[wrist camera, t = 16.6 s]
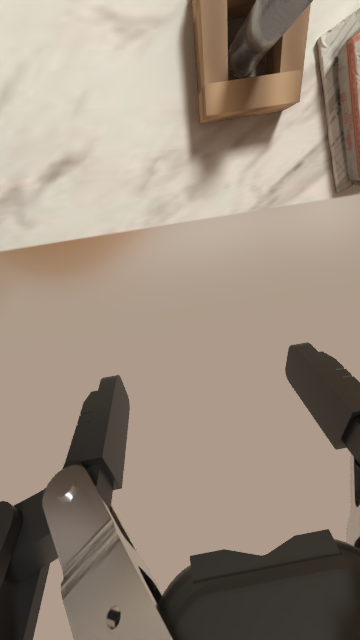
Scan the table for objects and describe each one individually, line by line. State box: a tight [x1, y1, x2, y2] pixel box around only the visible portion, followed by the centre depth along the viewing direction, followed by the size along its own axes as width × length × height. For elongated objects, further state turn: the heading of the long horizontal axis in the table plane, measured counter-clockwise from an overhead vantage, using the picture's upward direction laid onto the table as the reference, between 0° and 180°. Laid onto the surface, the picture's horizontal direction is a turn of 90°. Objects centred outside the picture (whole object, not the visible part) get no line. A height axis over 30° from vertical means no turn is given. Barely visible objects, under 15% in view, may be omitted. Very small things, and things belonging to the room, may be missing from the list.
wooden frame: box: [192, 0, 311, 124], centre depth 25 cm, size 11×11×4 cm
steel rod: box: [228, 0, 313, 77], centre depth 21 cm, size 3×3×12 cm
